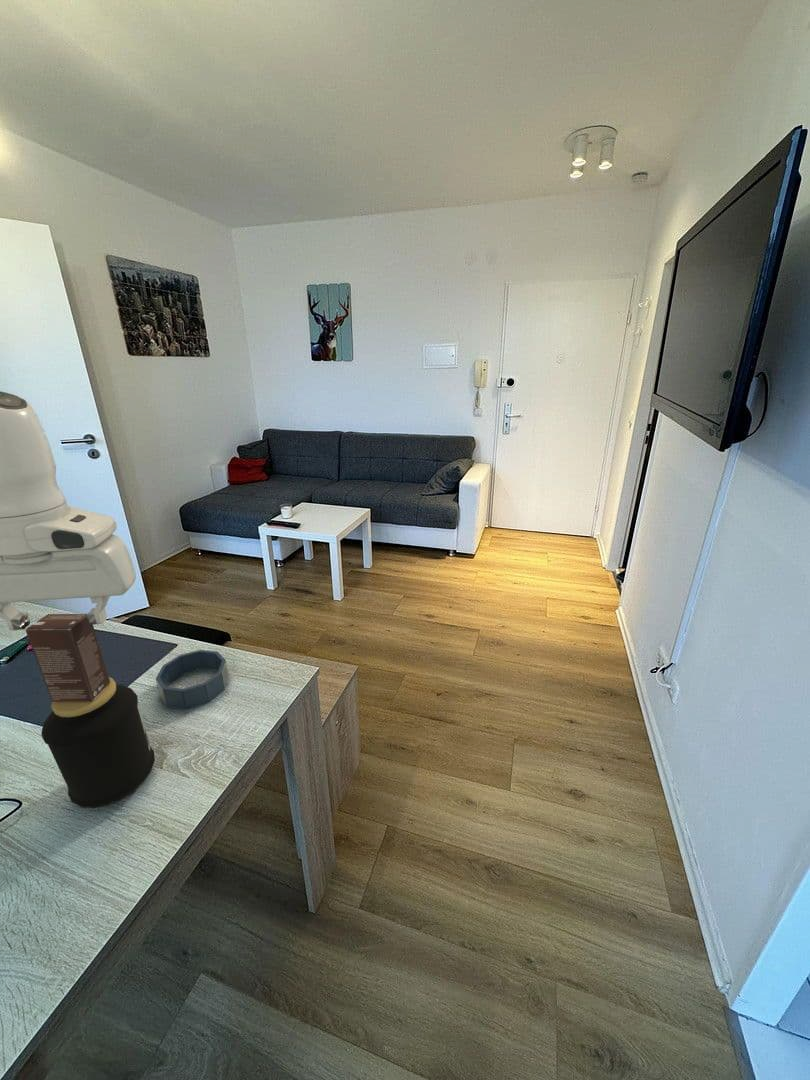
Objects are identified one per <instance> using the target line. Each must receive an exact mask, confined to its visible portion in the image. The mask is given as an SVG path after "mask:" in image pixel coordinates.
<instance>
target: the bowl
mask: <svg viewBox="0 0 810 1080" xmlns="http://www.w3.org/2000/svg"><path fill="white" fill-rule="evenodd" d="M226 660H227V659H225V658H224V657H223V655H221V654H220V652H219V651H214V650H207V649H206V650H205V649H198V650H194V651H190V652H186V653H182V654H179V655H177V656H175V657H174V658H173V659H171V660H170V661H168V662H166V663H165V664H163V665H162V666H161V668H160V669H159V672H158V673H157V675H156V677H155V682H156V686H157V690H158V695H159V697H160V699H161V700H162V702H163V703H164V704H165V706H166V707H167V708H173V709H179V710H180V709H181V710H189V709H192V708H196V707H198V706H199V707H200V706H202V705H205V704H206V705H207V704H209V703H210V702H212V701H213V700H214V699H215V698H217V697H218V696H219V695H220V694H222V693H223V692H224V691H225V690H226V688H227V684H228V680H229V677H230V676H229V672H228V666H227V661H226ZM199 670H212V671H213V670H214V671H218V672H216V673H215V674H213V675H212V676H211V677H210V678H208V679H207V680H205V681H204V682H202V683H198V684H195V685H191V686H188V687H185V688H181V687H172V686H170V684H172V683H173V682H175V681H176V680H178V679H179V678H180V677H182V676H183V675H185V674H187V673H192V672H195V671H199Z"/></svg>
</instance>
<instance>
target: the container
mask: <svg viewBox="0 0 810 1080" xmlns="http://www.w3.org/2000/svg"><path fill="white" fill-rule="evenodd" d="M109 679H110V683H109V685H108V686H107V687H106V688H105V689H104V690H103V692H102V693H101V694H100V695H99V696H98V697H97V699H95V700H94V701H92V702H91V701H74V702H72V701H70V702H52V701H51V710H52V711H51V712H50V713H49V715H48V716H47V717H46V719H45V720H44V722H43V724H42V728H41V738H42V740H43V742H44V743H45V744H46V745H47V746H48V748H49V750H50V753H51V755H52V756H53V759H54V761H55V763H56V765H57V768H58V770H59V771H60V774H61V776H62V778H63V780H64V782H65V784H66V786H67V788H68V789H67V795H68V797H69V799H70V801H71V802H72V803H73V804H75V805H77V806H79V808H86V809H87V808H88V809H96V808H101V807H107V806H110V805H112V804H115V803H117V802H119V801H122V800H123V799H124V798H126V797H127V796H129V795H131V794H132V793H134V792H135V791H136V790H137V789H138V788H139V787H140V786H142V784H143V783H145V781H146V780H147V778H148V777H149V776H150V774H151V773H152V770H153V767H154V765H155V761H156V758H155V757H156V756H155V750H154V749H153V748H152V747H151V745H150V741H149V738H148V734H147V730H146V727H145V724H144V720H143V716H142V713H141V710H140V705H139V700H138V699H139V698H138V695H137V693H136V692H135V691H134V690H133V688H131V687H129V686H126V685H123V684H117V683H116V681H115V680H114V679H113V678H112V677H110V676H109Z"/></svg>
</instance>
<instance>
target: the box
mask: <svg viewBox="0 0 810 1080" xmlns="http://www.w3.org/2000/svg"><path fill="white" fill-rule="evenodd" d="M87 614H88V613H47V614H46V615H44V616H43V617H42V618H40V619H38V620H37V621H36V622H34V623H32V624H31V625H29V626H27V627H26V628H25V633H26V635H27V639H28V641H29V643H30V647H31V648H32V653H33V654H34V658H35V660H36V662H37V663H36V664H37V666H38V669H39V671H40V673H41V674H40V675H41V676H42V679H43V682H44V685H45V688H46V690H47V693H48V695H49V699H50V701H51V703H52V702H70V701H72V702H74V701H91V702H92V701H94V700H95V699H97V697H98V696H99V695H100V694H101V693H102V692H103V690H104V689H105V688H106V687H107V686H108V685H109V683H110V679H109V677H110V676H109V672H108V670H107V666H106V663H105V660H104V657H103V653H102V649H101V647H100V643H99V640H98V638H97V637H98V636H97V633H96V629H95V627H94V624H93V625H90V624H89V620H88V619H87Z"/></svg>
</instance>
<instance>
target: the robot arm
mask: <svg viewBox="0 0 810 1080" xmlns="http://www.w3.org/2000/svg"><path fill="white" fill-rule="evenodd" d="M56 474H57V465H56V461H55V458H54V454H53V451H52V447H51V445H50V441H49V439H48V437H47V434H46V431H45V428H44V427H43V424H42V422H41V420H40V418H39V417H38V415H37V413H36V412H35V410H34V408H33V407H32V406H31V404H30V403H29V402H28V401H27V400H25V398H21V396H18V395H15V394H13V393H9V392H6V391H1V390H0V618H1V619H2V620H4V621H5V622H6V624H7V627H8V629H9V631H23V630H26V629H27V628H28V627H30V626H31V625H30V624H31V620H30V618H29V613H28V612H27V611H26V612H20V611H19V609H17V608H16V607H15V606H14V605H13V604H12V603H20V602H36V601H37V602H38V601H53V600H54V601H55V600H69V599H86V598H87V599H88V598H89V599H90V602H91V604H96V605H95V607H92V608H91V609H90V611H89V612H88V613H86V614H87V619H88V620H89V624H90V625H93V626H94V625H103V624H105V622H106V621H107V618H108V615H107V612H106V606H107V604H108V602H109V600H110V597H116V596H117V597H118V596H123V595H125V594H126V593H127V592H128V591H129V590H130V589H131V587H132V586H133V585H134V583H135V582H136V579H137V575H136V570H135V565H134V562H133V559H132V557H131V554H130V552H129V549H128V547H127V545H126V543H125V542H124V540H123V539H122V538H120V537H119V536H117V535H116V534H114V533H115V531H116V530H117V526H118V525H117V522H116V521H117V520H115V518H114V517H112V516H111V515H107V514H103V513H98V512H93V511H89V510H85V509H81V508H77V507H74V506H71V505H68V503H67V498H66V497H65V495H64V493H63V492H62V491H61V489H60V487H59V485H58V481H57V477H56Z"/></svg>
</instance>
